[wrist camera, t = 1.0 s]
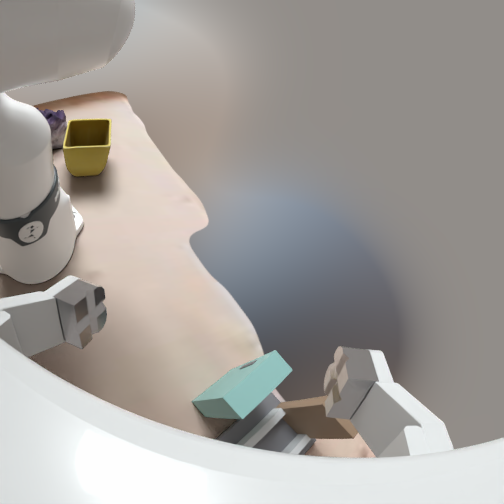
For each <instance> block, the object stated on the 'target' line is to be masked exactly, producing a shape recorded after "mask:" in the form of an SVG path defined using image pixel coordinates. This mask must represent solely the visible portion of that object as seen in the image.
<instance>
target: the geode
mask: <svg viewBox="0 0 504 504" xmlns="http://www.w3.org/2000/svg"><path fill="white" fill-rule="evenodd" d="M36 109H37V110H38V108H36ZM38 111H40V113H41V114H42V115H43V116H44V117H45V119H46V120H47V122H48V124H49V126H50V130H51V143H52V149H54V148H63V143H64V139H65V134H66V129H67V122H66V116H65V114H64V111H63V110H61V111H60V110H58V111H57V112H53V111H52V110H48V109H45V111H41V110H38Z"/></svg>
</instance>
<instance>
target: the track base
mask: <svg viewBox="0 0 504 504" xmlns="http://www.w3.org/2000/svg"><path fill="white" fill-rule="evenodd" d="M327 397H328V396H321V397H316V398H310V399H303V400H297V401H290V402H282V403H281V402H280V401H279V400H278V399H277V398H276V397H275V396H274V395H273V394H272V393H270V394H269V395H268V396H267V397H266V398H265V399H264V400H263V401H262V402H260V403H259V404H258V405H257V406H256V407H255V408H254V409H253V410H252V411H251V412H250V413H249V414H248V415H247V416H246V417H245V418H244V419H238V420H237V421H236V422H235V423H234V424H232V425H231V426H230V427H229V428H228V429H227V430H226V431H224V432H223V433H222V434H221V435H220V436H219V437H217V438H216V439H215V440H218V441H223V442H227V443H231V444H236V445H241V446H246V447H251V448H256V449H262V450H268V451H275V452H282V453H290V454H299V455H304V454H305V453H306V452H307V451H308V450H309V448H310V447H311V446H312V445H313V444H314V442H315V441H316V439H350V438H354V437H355V436H356V434H357V433H358V431H357V430H356V428H355V427H354V426H353V424H352V423H351V421H350V420H349V419H339V418H330V417H326V409H325V401H326V399H327Z"/></svg>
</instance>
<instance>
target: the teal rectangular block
mask: <svg viewBox="0 0 504 504" xmlns="http://www.w3.org/2000/svg"><path fill="white" fill-rule="evenodd" d="M291 371H292V369H291V368H290V367H289V365H288V364H287V363H286V362H285V361H284V359H283V358H282V357H281V356H280V355H279V354H278V352H277V351H276V350H274V351H272V352H270V353H268V354H266V355H264V356H261V357H259V358H257V359H255V360H252V361H250V362H248V363H245V364H243V365H241V366H238V367H236V368H233V369H231V370H230V371H229V372H228V373H226V374H225V375H224V376H223V377H222V378H220V379H219V380H218V381H217V382H215V383H214V384H213V385H212V386H211V387H209V388H208V389H207V390H206V391H204V392H203V393H202V394H201V395H199V396H198V397H197V398H196V399H194V400H193V401H192V402H193V404H194V405H195V406H196V407H197V408H198V409H199V410H200V412H201V413H202V414H203V415H204V416H205V417H211V418H225V419H244V418H245V417H246V416H247V415H248V414H249V413H250V412H251V411H252V410H253V409H254V408H255V407H256V406H257V405H258V404H259V403H260V402H262V401H263V400H264V399H265V398H266V397H267V396H268V395H269V394H270V393H271V392H272V391H273V390H274V389H275V388H276V387H277V386H278V384H280V383H281V381H283V379H284V378H285V377H286V376H287V375H288V374H289V373H290V372H291Z"/></svg>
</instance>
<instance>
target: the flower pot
mask: <svg viewBox="0 0 504 504" xmlns="http://www.w3.org/2000/svg"><path fill="white" fill-rule="evenodd" d="M110 146H111V119H76V120H69V121H68V125H67V129H66V134H65V139H64V143H63V152H64V158H65V163H66V167H67V169H68V171H69V172H70V173H71V174H72V175H74V176H95V175H98V174H100V173H101V172H102V171H103V169H104V167H105V165H106V163H107V159H108V154H109V150H110Z"/></svg>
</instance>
